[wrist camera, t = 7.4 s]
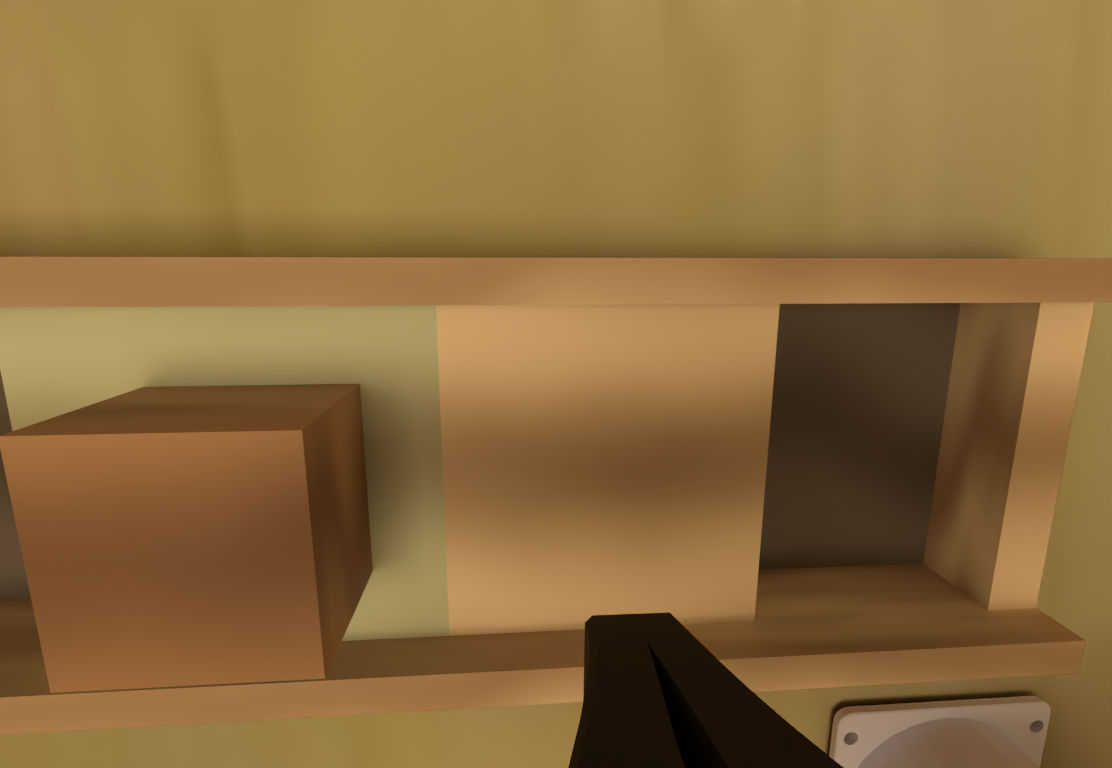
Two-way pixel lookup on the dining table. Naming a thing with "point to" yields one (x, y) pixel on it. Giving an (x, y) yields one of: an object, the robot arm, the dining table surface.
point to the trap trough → (607, 460)
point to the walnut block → (193, 534)
